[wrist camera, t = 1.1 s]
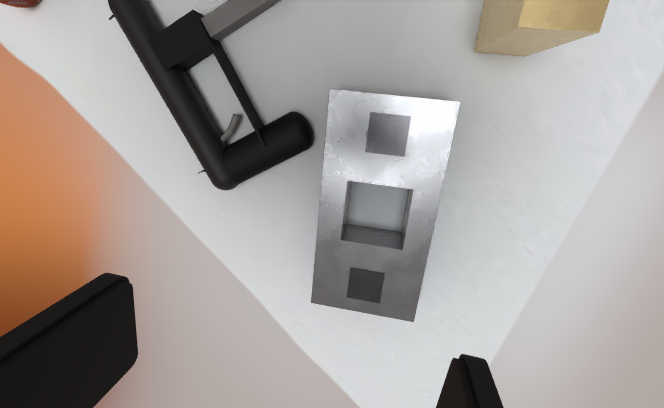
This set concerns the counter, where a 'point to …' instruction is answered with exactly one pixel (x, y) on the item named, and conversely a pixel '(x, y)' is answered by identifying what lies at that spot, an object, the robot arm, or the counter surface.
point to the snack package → (20, 3)
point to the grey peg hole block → (389, 170)
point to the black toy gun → (184, 103)
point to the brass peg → (536, 24)
